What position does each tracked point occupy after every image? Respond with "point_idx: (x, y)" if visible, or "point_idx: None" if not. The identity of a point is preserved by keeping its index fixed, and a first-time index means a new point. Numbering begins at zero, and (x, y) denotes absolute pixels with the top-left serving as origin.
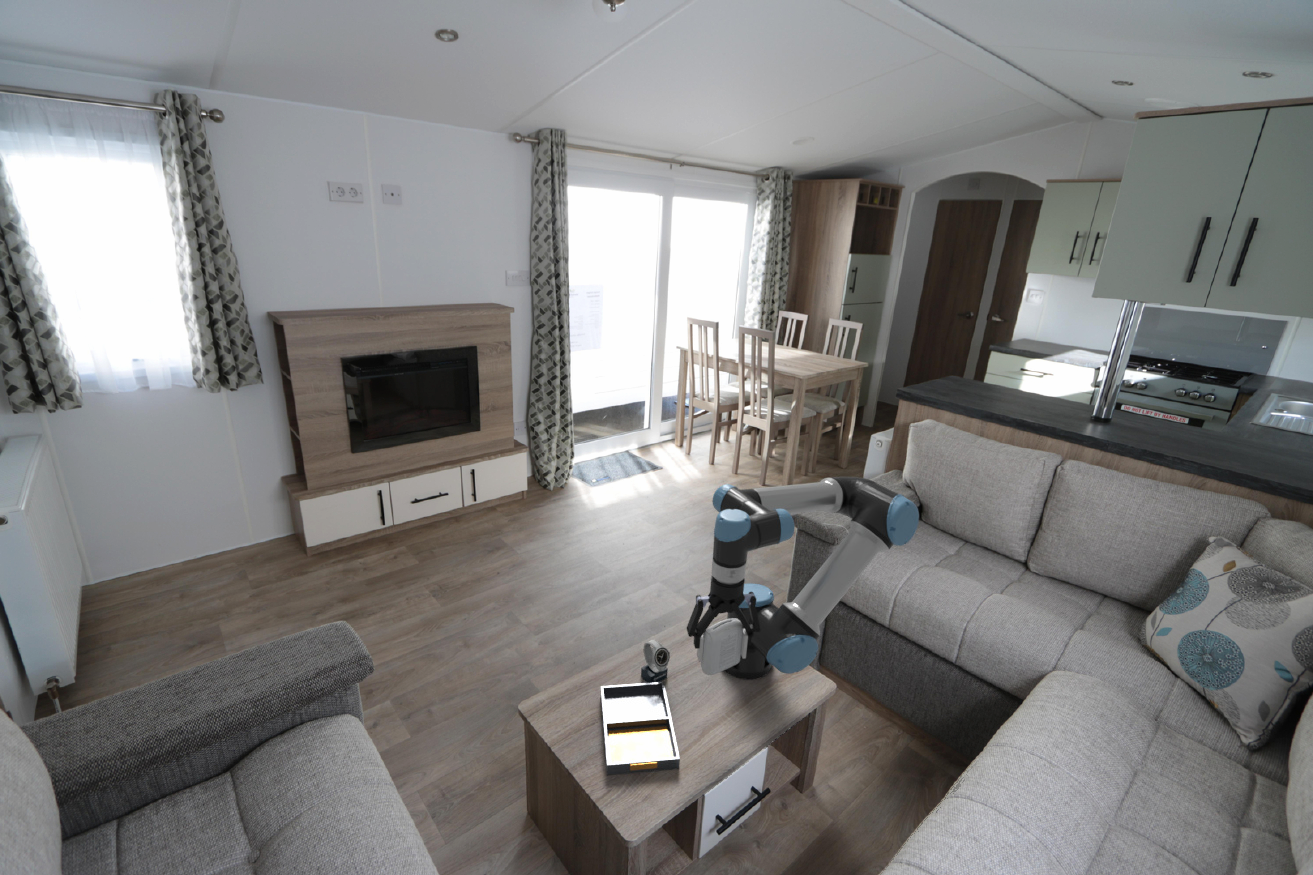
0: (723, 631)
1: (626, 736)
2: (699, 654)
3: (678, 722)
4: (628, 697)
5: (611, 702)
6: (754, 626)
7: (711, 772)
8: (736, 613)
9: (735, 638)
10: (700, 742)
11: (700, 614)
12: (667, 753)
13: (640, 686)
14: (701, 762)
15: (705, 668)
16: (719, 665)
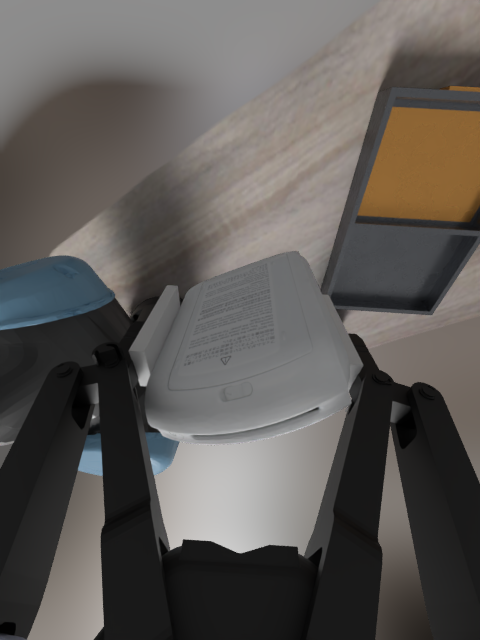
0: (261, 388)
1: (446, 201)
2: (336, 312)
3: (322, 227)
4: (386, 291)
5: (420, 285)
6: (74, 392)
7: (310, 63)
8: (150, 542)
9: (192, 347)
10: (300, 167)
11: (477, 568)
12: (391, 135)
13: (364, 305)
14: (320, 104)
15: (311, 270)
16: (265, 270)
